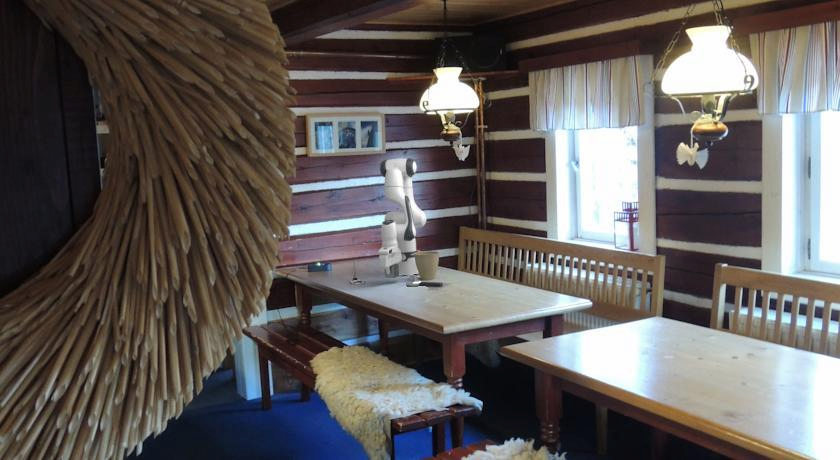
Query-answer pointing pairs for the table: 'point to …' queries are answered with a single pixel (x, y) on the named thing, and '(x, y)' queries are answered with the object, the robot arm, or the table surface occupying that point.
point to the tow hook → (354, 271)
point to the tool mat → (439, 287)
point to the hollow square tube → (392, 271)
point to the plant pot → (427, 264)
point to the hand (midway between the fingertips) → (391, 272)
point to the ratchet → (415, 283)
